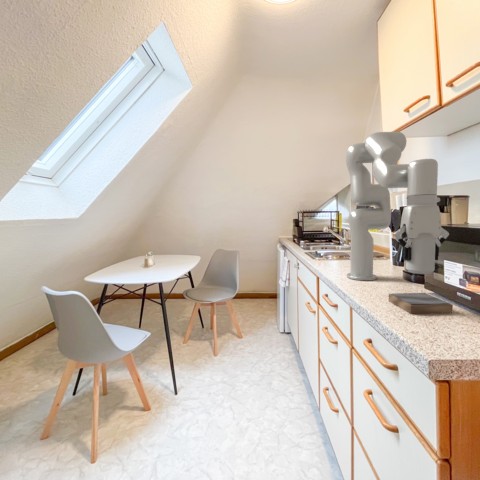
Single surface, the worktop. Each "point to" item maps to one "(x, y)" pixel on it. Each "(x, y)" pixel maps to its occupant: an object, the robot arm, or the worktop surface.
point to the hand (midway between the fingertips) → (420, 259)
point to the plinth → (420, 303)
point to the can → (422, 254)
